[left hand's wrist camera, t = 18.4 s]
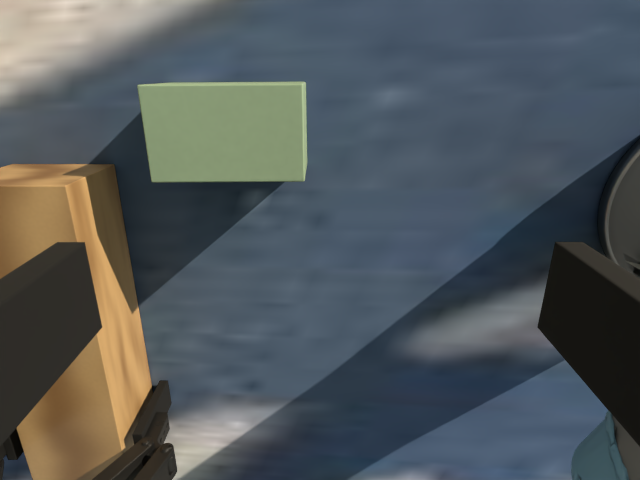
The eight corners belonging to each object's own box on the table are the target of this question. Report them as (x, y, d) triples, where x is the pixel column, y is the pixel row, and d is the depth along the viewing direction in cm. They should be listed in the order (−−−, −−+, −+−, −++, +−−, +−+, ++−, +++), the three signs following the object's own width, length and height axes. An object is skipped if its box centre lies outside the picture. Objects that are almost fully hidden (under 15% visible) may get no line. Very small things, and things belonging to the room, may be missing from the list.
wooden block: (114, 164, 34) (65, 185, 27) (158, 424, 43) (130, 487, 37) (11, 164, 34) (-62, 185, 27) (77, 424, 43) (35, 487, 37)
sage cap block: (305, 81, 32) (302, 83, 26) (307, 163, 34) (304, 181, 28) (168, 82, 32) (136, 84, 26) (178, 164, 34) (151, 182, 28)
